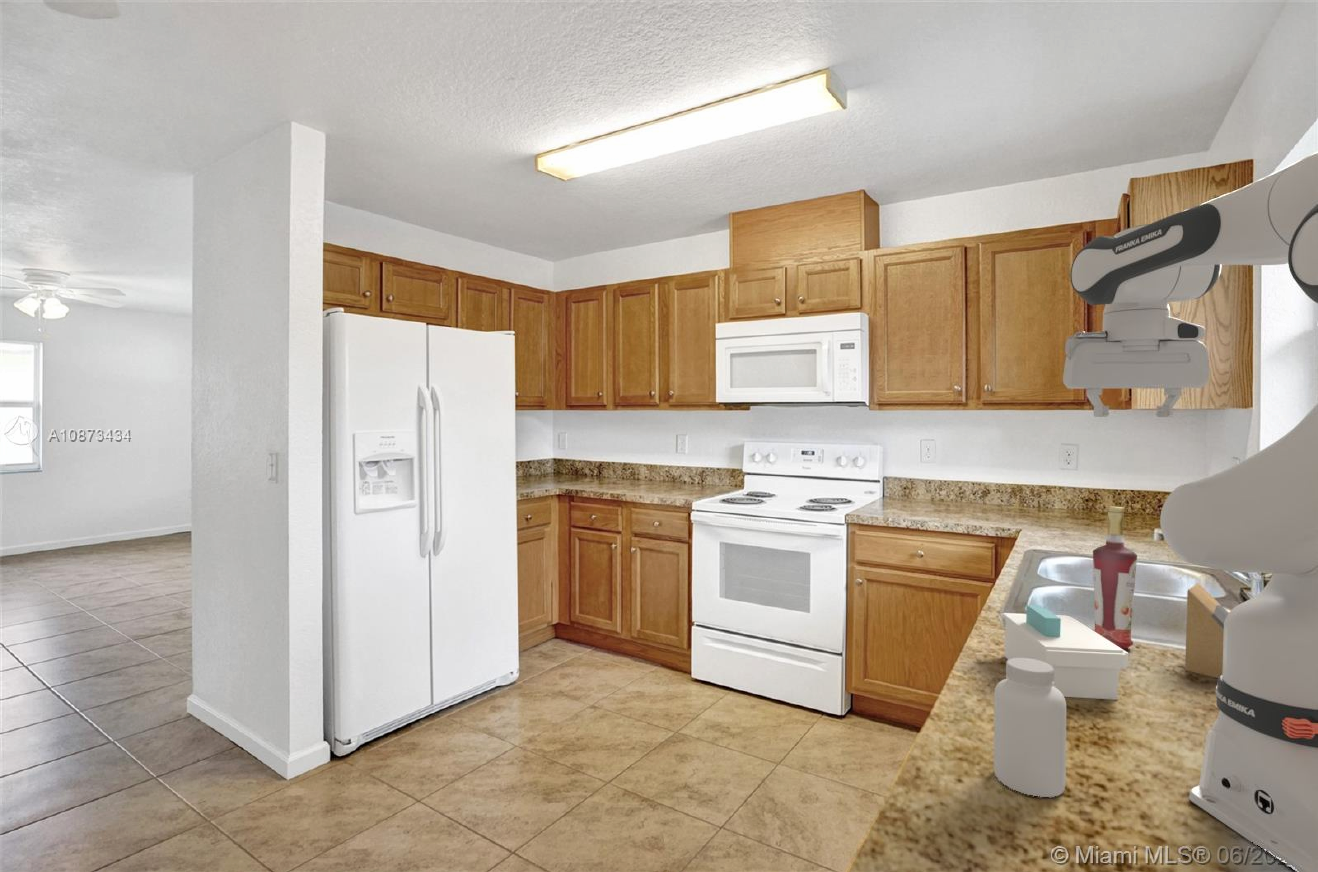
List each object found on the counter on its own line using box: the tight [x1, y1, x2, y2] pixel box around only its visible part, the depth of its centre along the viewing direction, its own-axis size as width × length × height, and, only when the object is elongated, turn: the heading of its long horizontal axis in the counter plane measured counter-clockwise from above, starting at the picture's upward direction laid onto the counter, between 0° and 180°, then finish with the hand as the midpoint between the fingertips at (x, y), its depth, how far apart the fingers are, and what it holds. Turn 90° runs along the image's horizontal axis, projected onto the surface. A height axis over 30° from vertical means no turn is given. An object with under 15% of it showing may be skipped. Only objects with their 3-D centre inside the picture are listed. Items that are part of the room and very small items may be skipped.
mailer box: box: [1004, 619, 1120, 701], centre depth 118 cm, size 18×11×7 cm, turn 172°
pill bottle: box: [993, 658, 1067, 798], centre depth 84 cm, size 8×8×15 cm
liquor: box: [1092, 505, 1138, 651], centre depth 133 cm, size 7×7×28 cm
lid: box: [1000, 604, 1129, 670], centre depth 118 cm, size 20×13×6 cm, turn 172°
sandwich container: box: [1184, 582, 1230, 679], centre depth 118 cm, size 9×15×15 cm, turn 42°
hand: (1132, 417), depth 108 cm, fingers open, 8 cm apart
